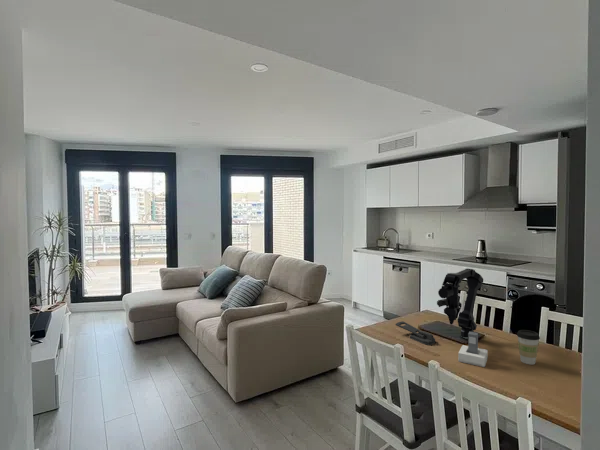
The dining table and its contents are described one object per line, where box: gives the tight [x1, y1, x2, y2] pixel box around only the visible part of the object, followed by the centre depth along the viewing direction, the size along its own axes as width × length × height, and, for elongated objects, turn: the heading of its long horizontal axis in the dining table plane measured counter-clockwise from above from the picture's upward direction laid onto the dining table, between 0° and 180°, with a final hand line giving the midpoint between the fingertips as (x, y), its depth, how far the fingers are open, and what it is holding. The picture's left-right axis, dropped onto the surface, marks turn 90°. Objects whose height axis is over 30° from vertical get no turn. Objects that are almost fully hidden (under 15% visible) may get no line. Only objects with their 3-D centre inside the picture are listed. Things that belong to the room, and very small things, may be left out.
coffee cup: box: [516, 329, 541, 365], centre depth 172 cm, size 10×10×15 cm
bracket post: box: [467, 331, 479, 355], centre depth 176 cm, size 5×4×13 cm
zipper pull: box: [394, 321, 436, 346], centre depth 208 cm, size 9×7×25 cm
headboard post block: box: [457, 344, 489, 368], centre depth 176 cm, size 12×12×4 cm
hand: (452, 322), depth 196 cm, fingers open, 9 cm apart
